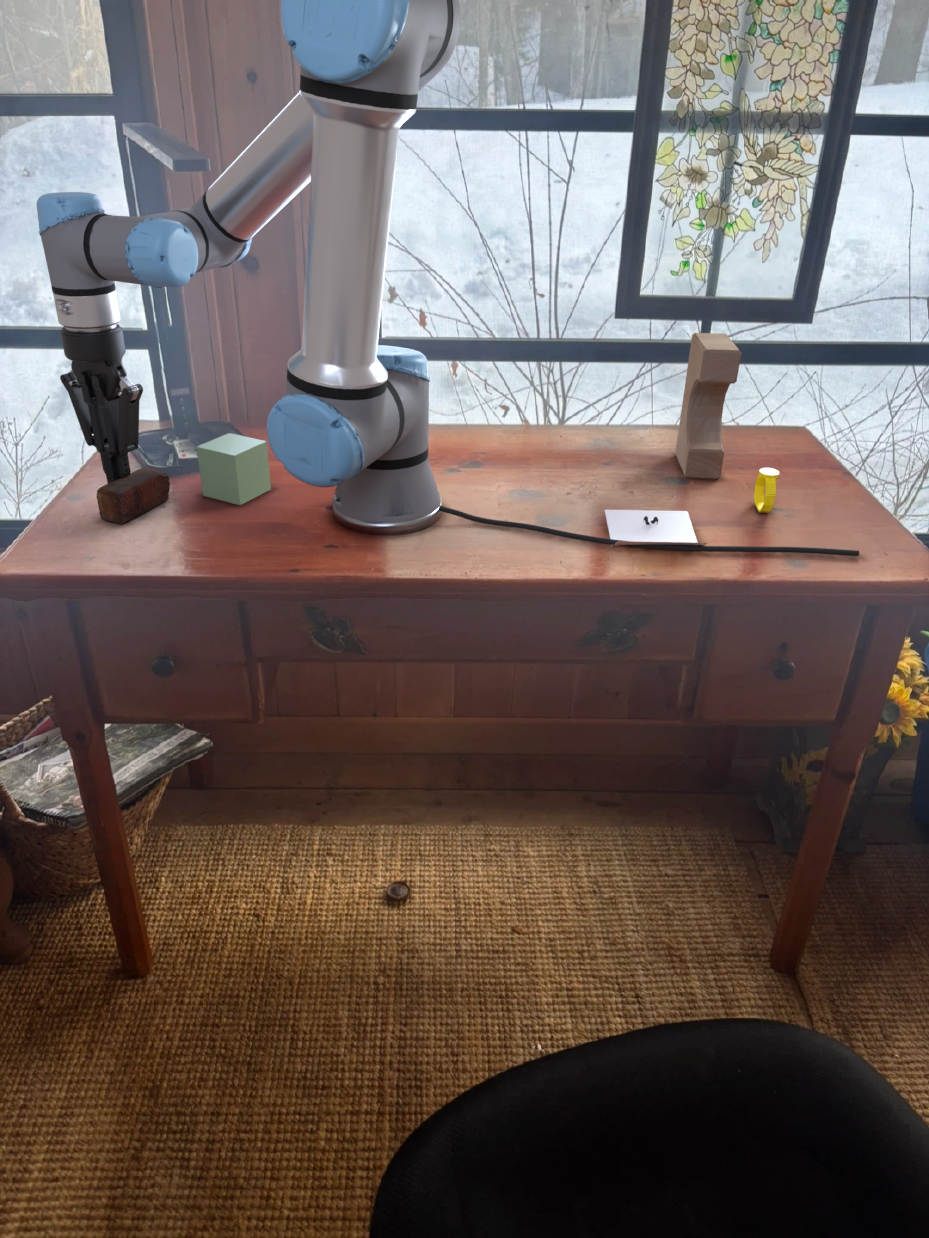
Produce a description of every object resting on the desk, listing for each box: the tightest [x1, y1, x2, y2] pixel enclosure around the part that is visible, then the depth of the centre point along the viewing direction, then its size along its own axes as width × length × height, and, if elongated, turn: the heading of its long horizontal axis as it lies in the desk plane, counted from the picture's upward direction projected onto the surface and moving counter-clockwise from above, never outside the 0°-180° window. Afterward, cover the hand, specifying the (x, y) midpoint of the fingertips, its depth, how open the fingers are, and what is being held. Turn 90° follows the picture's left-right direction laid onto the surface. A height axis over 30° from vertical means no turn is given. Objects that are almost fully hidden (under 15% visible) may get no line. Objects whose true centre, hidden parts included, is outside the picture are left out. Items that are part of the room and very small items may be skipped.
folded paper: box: [604, 509, 708, 547], centre depth 124 cm, size 12×12×2 cm
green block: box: [195, 432, 272, 506], centre depth 133 cm, size 7×7×8 cm
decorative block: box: [674, 332, 742, 480], centre depth 142 cm, size 11×6×20 cm, turn 176°
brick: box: [95, 467, 171, 525], centre depth 127 cm, size 11×4×5 cm, turn 158°
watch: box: [753, 467, 780, 514], centre depth 132 cm, size 6×3×6 cm, turn 177°
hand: (121, 496), depth 129 cm, fingers closed
